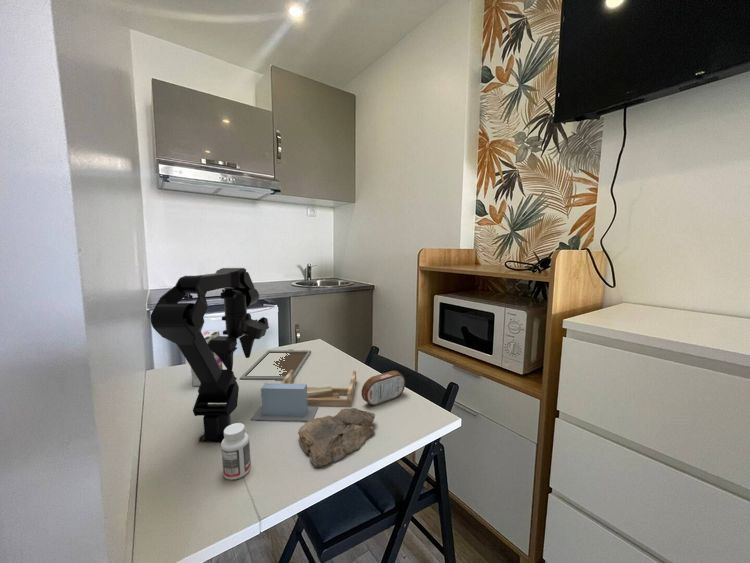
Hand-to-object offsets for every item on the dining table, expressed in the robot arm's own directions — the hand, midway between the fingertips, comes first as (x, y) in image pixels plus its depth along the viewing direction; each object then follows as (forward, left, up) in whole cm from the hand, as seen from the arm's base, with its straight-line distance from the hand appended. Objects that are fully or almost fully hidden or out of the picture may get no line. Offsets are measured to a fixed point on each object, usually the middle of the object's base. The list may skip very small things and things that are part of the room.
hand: (239, 363), depth 88 cm
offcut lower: (+4, -22, -14) cm, 26 cm away
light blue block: (-4, -14, -13) cm, 20 cm away
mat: (-4, -14, -13) cm, 20 cm away
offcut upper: (+4, -22, -12) cm, 25 cm away
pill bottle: (-25, -11, -13) cm, 31 cm away
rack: (+9, -21, -13) cm, 26 cm away
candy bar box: (+17, +21, -13) cm, 30 cm away
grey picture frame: (+31, 0, -14) cm, 34 cm away
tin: (+5, -42, -13) cm, 45 cm away
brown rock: (-13, -32, -14) cm, 37 cm away
